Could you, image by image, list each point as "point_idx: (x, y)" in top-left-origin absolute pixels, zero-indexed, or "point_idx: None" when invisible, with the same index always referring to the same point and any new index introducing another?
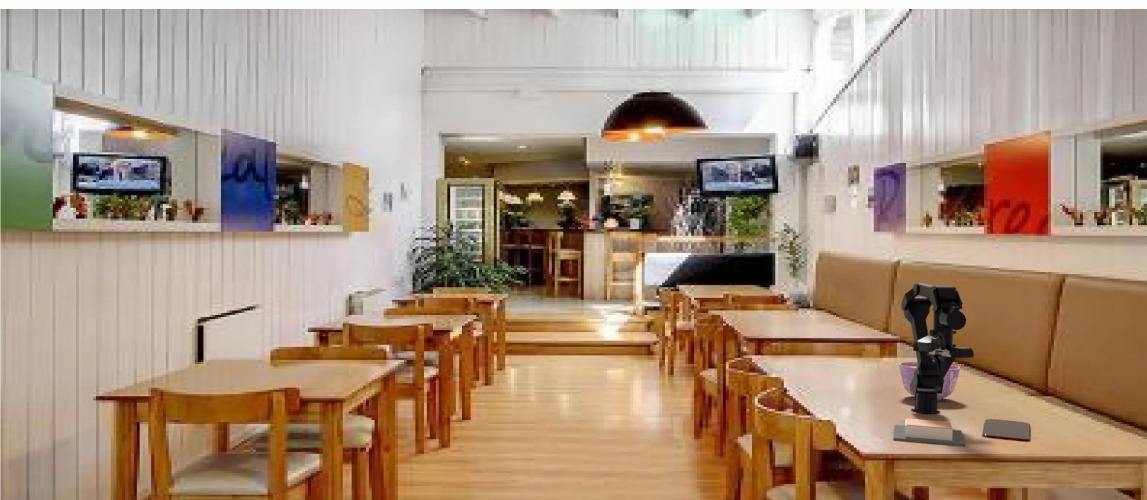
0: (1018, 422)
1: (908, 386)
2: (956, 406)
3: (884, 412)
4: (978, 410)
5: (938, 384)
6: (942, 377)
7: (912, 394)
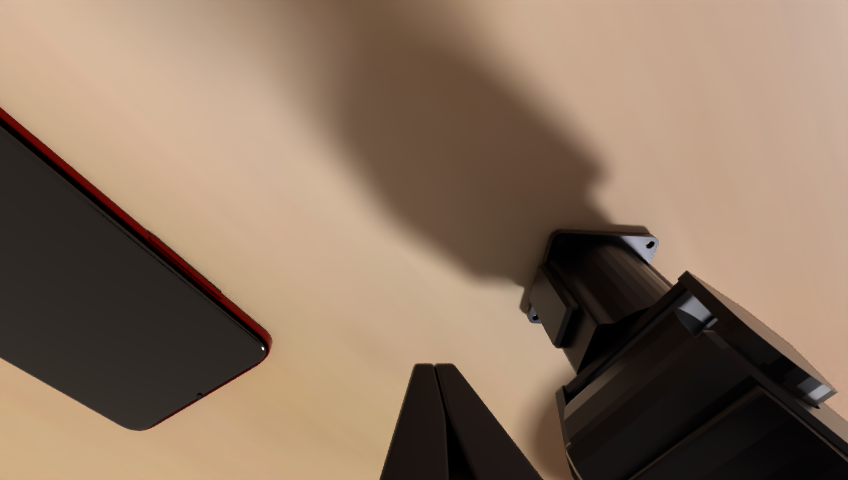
0: (149, 406)
1: None
2: (562, 449)
3: (753, 39)
4: None
5: (577, 413)
6: (412, 374)
7: None
